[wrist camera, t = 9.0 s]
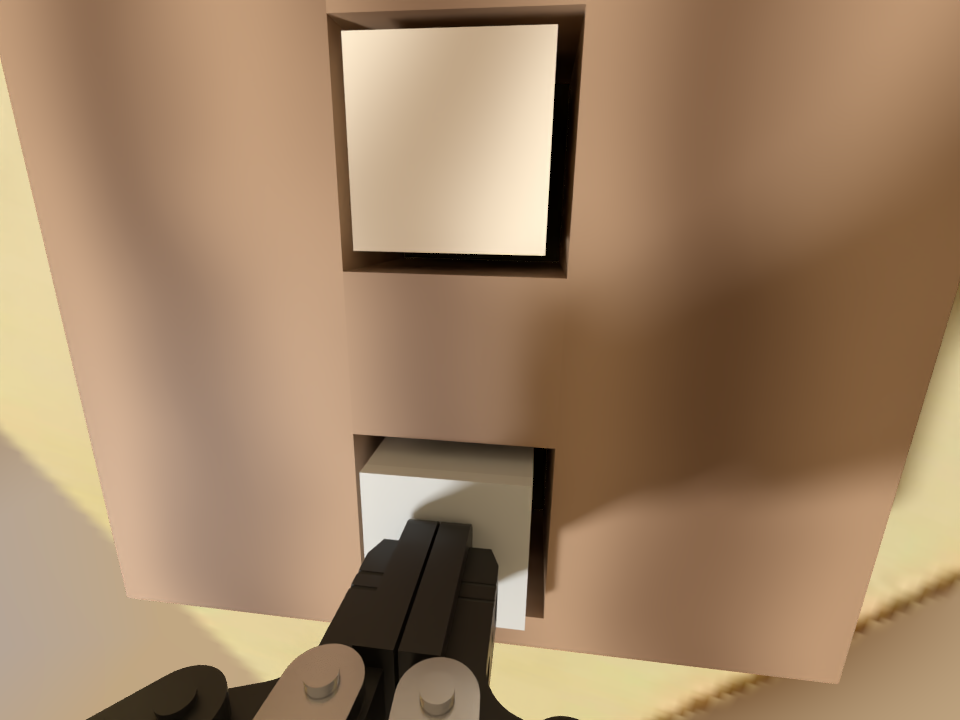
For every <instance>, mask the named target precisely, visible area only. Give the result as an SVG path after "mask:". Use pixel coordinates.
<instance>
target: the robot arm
mask: <svg viewBox="0 0 960 720" xmlns="http://www.w3.org/2000/svg"><path fill="white" fill-rule="evenodd" d="M472 539H473V527H472V524H462V523H451V522H441V524H440V522H439V521H429V520H418V519H409V520H408V521H407V523H406V525H405V527H404V530H403V532H402V534H401V536H400V539H399V540H391V539H383V540H382V541H381V542H380V543H379V544H377V545H376V546H375V547H374V548H373V549H372V550H370V551H369V552H368V553H367V555H366V557H365V559H364V561H363V563H362V565H361V567H360V568H359V572H358V574H356V576H355V578H354V580H353V582H352V584H351V588H349V589H348V591H347V593H346V595H345V597H344V599H343V601H342V603H341V604H340V606H339V608H338V610H337V612H336V614H335V616H334V618H333V620H332V622H331V623H330V625H329V627H328V629H327V631H326V633H325V635H324V637H323V639H322V641H321V642H320V644H319V646H317V647H314V648H312V649H310V650H308V651H306V652H304V653H303V654H301V655H300V656H298V657H297V658H296V659H295V660H294V661H293V662H292V663H291V664H290V665H289V666H288V667H287V669H286V670H285V671H284V673H283V674H282V676H281V677H280V678H277V679H274V680H271V681H267V682H262V683H256V684H251V685H246V686H240V687H234V688H229V689H228V687H227V682H226V678H225V676H224V675H223V673H222V672H221V671H220V670H218V669H217V668H215V667H212V666H207V665H197V666H190V667H186V668H182V669H180V670H177V671H174V672H173V673H170V674H168V675H166V676H164V677H163V678H161V679H159V680H157V681H155V682H154V683H152V684H150V685H148V686H146V687H144V688H143V689H141V690H139V691H137V692H135V693H134V694H132V695H130V696H128V697H126V698H124V699H123V700H121V701H119V702H117V703H115V704H114V705H112V706H110V707H108V708H106V709H105V710H103V711H101V712H99V713H97V714H96V715H94V716H92V717H90V718H88V719H86V720H523V719H521V718H519V717H517V716H515V715H514V714H512V713H510V712H509V711H508V710H506V709H505V708H504V707H503V706H502V705H501V704H500V703H499V702H498V701H497V699H496V698H495V696H494V695H493V693H492V691H491V689H490V687H489V685H490V676H491V667H492V658H493V648H494V639H495V630H496V621H497V597H498V570H499V566H498V563H497V561H496V559H495V556H494V554H493V552H492V549H483V548H473V547H472ZM545 720H578V719H575V718H571V717H566V716H556V717H550V718H547V719H545Z"/></svg>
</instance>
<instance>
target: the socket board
mask: <svg viewBox="0 0 960 720" xmlns="http://www.w3.org/2000/svg"><path fill="white" fill-rule="evenodd" d="M548 24H558V34H557V52H556V70H555V84H563V83H570V92H569V108H568V124H567V140H566V155H565V171H564V187H563V203H562V218H561V234H560V250H559V262H554V261H518V260H481V259H444V258H407V257H405V256H404V252H383V251H353V233H352V215H351V197H350V179H349V162H348V144H347V126H346V108H345V90H344V72H343V55H342V37H341V31H352V30H385V29H417V28H450V27H483V26H515V25H548ZM0 58H1V62H2V67H3V71H4V75H5V79H6V84H7V88H8V92H9V97H10V101H11V105H12V109H13V114H14V118H15V122H16V126H17V131H18V135H19V139H20V143H21V148H22V152H23V156H24V160H25V165H26V169H27V173H28V177H29V182H30V186H31V190H32V194H33V199H34V203H35V207H36V211H37V216H38V220H39V224H40V228H41V233H42V237H43V241H44V245H45V250H46V254H47V258H48V262H49V267H50V271H51V275H52V279H53V284H54V288H55V292H56V296H57V301H58V305H59V309H60V313H61V318H62V322H63V326H64V330H65V335H66V339H67V343H68V347H69V352H70V356H71V360H72V364H73V369H74V373H75V377H76V381H77V386H78V390H79V394H80V399H81V403H82V407H83V411H84V416H85V420H86V424H87V428H88V433H89V437H90V441H91V445H92V450H93V454H94V458H95V462H96V467H97V471H98V475H99V479H100V484H101V488H102V492H103V496H104V501H105V505H106V509H107V513H108V518H109V522H110V526H111V530H112V535H113V539H114V543H115V547H116V552H117V556H118V560H119V564H120V568H121V572H122V577H123V581H124V586H125V590H126V594H127V597H128V598H134V599H142V600H151V601H159V602H167V603H175V604H183V605H192V606H200V607H208V608H216V609H225V610H233V611H241V612H249V613H257V614H266V615H274V616H282V617H290V618H299V619H307V620H315V621H323V622H332V620H333V618H334V616H335V614H336V612H337V610H338V608H339V606H340V604H341V603H342V601H343V599H344V597H345V595H346V593H347V591H348V589H349V588H351V584H352V582H353V580H354V578H355V576H356V574H358V572H359V568H360V567H361V565H362V563H363V561H364V559H365V557H364V540H363V524H362V507H361V491H360V474H359V472H360V471H361V470H362V468H363V467H364V466H365V464H366V463H367V462H368V460H369V459H370V457H371V456H372V455H373V453H374V452H375V451H376V449H377V448H378V447H379V445H380V444H381V443H382V441H383V440H384V438H385V437H386V436H387V437H401V438H415V439H429V440H442V441H456V442H470V443H484V444H497V445H511V446H525V447H539V448H547V454H546V470H545V486H544V501H543V510H538V509H531V524H530V542H529V560H528V578H527V596H526V614H525V631H524V630H516V629H507V628H499V627H496V630H495V639H494V642H496V643H504V644H512V645H520V646H529V647H537V648H545V649H553V650H562V651H570V652H578V653H586V654H594V655H603V656H611V657H619V658H627V659H635V660H644V661H652V662H660V663H668V664H677V665H685V666H693V667H701V668H709V669H718V670H726V671H734V672H742V673H751V674H759V675H767V676H775V677H783V678H792V679H800V680H808V681H817V682H825V683H833V684H838V683H839V680H840V677H841V673H842V670H843V667H844V664H845V660H846V657H847V654H848V650H849V647H850V644H851V640H852V637H853V634H854V631H855V627H856V624H857V621H858V617H859V614H860V611H861V607H862V604H863V601H864V597H865V594H866V591H867V587H868V584H869V581H870V578H871V574H872V571H873V568H874V564H875V561H876V558H877V554H878V551H879V548H880V544H881V541H882V538H883V534H884V531H885V528H886V524H887V521H888V518H889V515H890V511H891V508H892V505H893V501H894V498H895V495H896V491H897V488H898V485H899V481H900V478H901V475H902V471H903V468H904V465H905V462H906V458H907V455H908V452H909V448H910V445H911V442H912V438H913V435H914V432H915V428H916V425H917V422H918V418H919V415H920V412H921V409H922V405H923V402H924V399H925V395H926V392H927V389H928V385H929V382H930V379H931V375H932V372H933V369H934V365H935V362H936V359H937V356H938V352H939V349H940V346H941V342H942V339H943V336H944V332H945V329H946V326H947V322H948V319H949V316H950V312H951V309H952V306H953V302H954V299H955V296H956V293H957V289H958V286H959V283H960V0H0Z"/></svg>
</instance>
